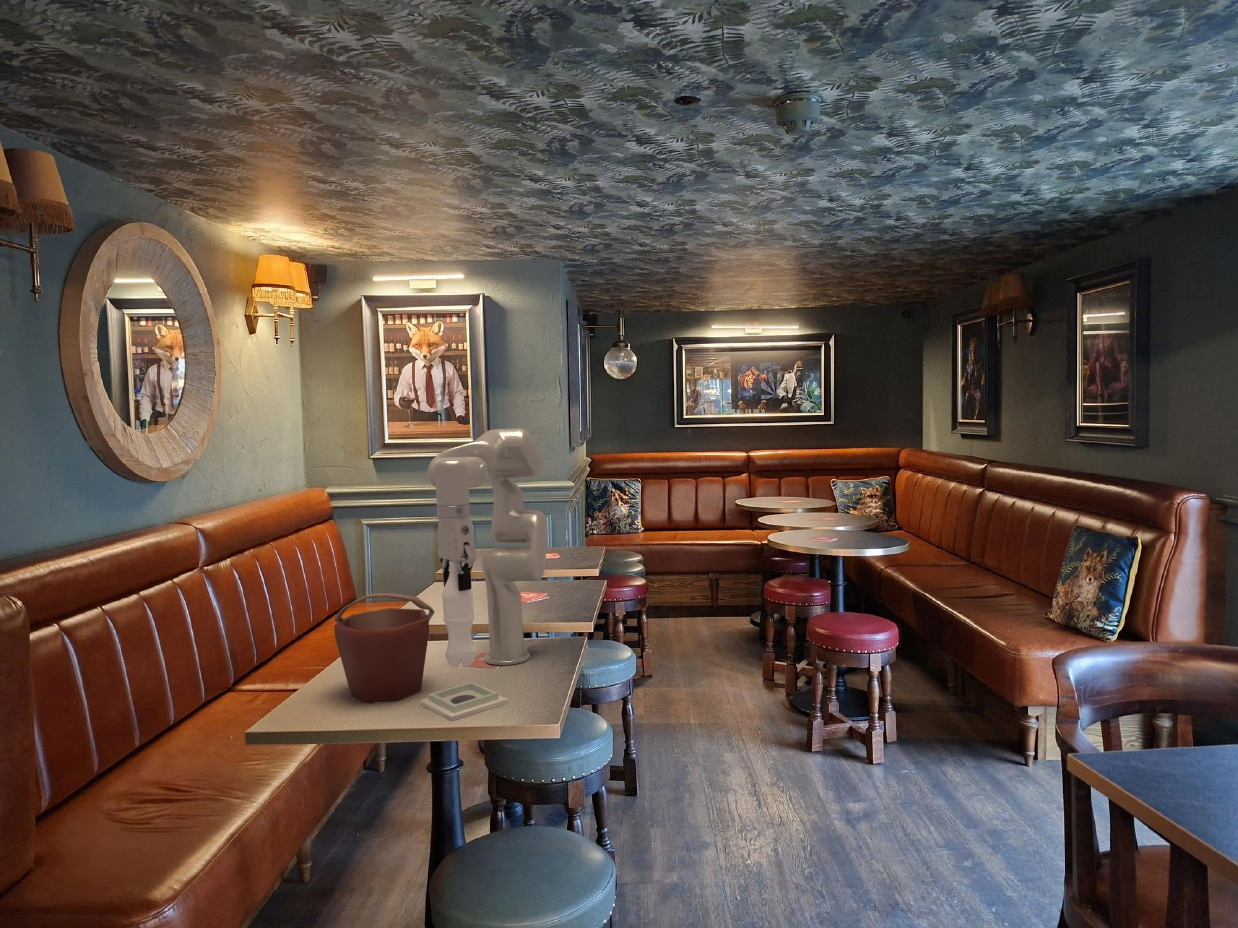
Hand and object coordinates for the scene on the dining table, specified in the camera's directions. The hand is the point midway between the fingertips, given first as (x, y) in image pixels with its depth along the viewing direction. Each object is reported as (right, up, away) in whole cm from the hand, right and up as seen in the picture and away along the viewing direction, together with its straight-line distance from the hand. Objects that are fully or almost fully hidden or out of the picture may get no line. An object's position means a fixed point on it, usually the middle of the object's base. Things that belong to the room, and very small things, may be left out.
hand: (457, 587), depth 187 cm
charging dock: (+1, -28, +2) cm, 28 cm away
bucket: (-20, -28, +12) cm, 37 cm away
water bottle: (+1, -19, +1) cm, 19 cm away
